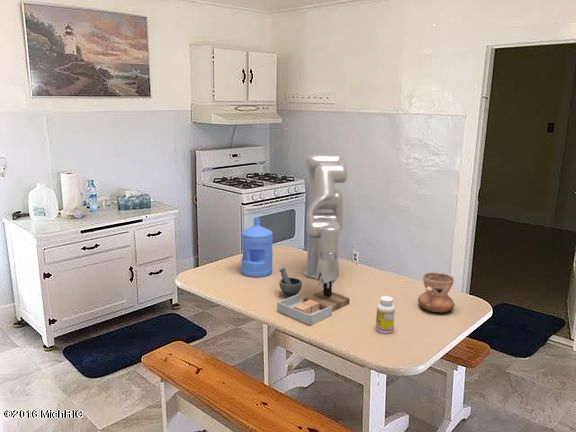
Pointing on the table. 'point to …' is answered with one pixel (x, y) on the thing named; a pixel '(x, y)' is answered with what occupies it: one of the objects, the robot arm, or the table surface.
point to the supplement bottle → (385, 315)
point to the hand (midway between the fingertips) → (327, 295)
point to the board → (328, 300)
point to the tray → (309, 319)
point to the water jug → (256, 250)
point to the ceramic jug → (436, 292)
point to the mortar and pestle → (289, 284)
